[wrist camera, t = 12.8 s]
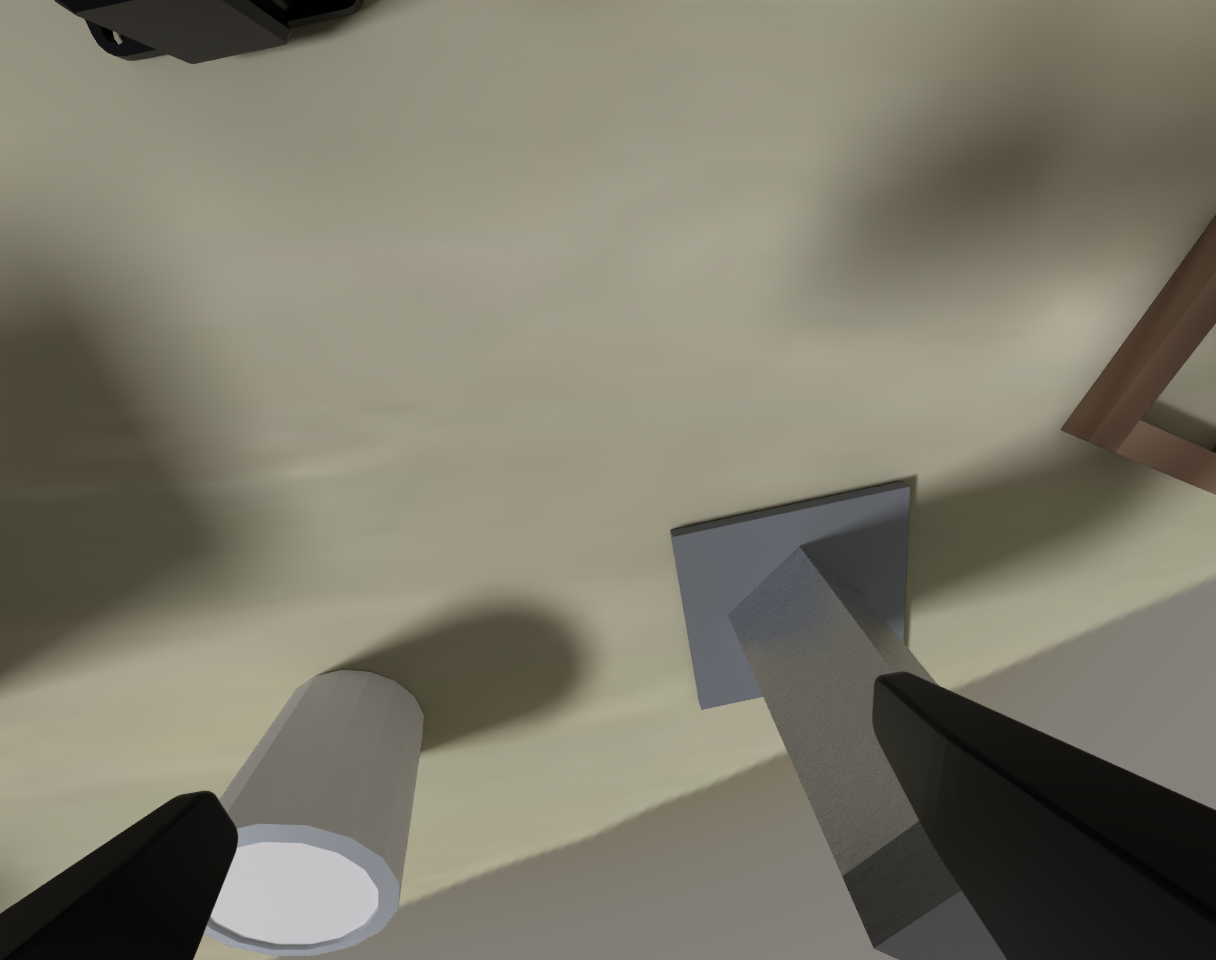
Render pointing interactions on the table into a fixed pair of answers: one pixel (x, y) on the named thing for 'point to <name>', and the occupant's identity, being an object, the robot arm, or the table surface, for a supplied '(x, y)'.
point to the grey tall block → (853, 756)
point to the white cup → (322, 819)
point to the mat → (757, 544)
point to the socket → (1156, 374)
